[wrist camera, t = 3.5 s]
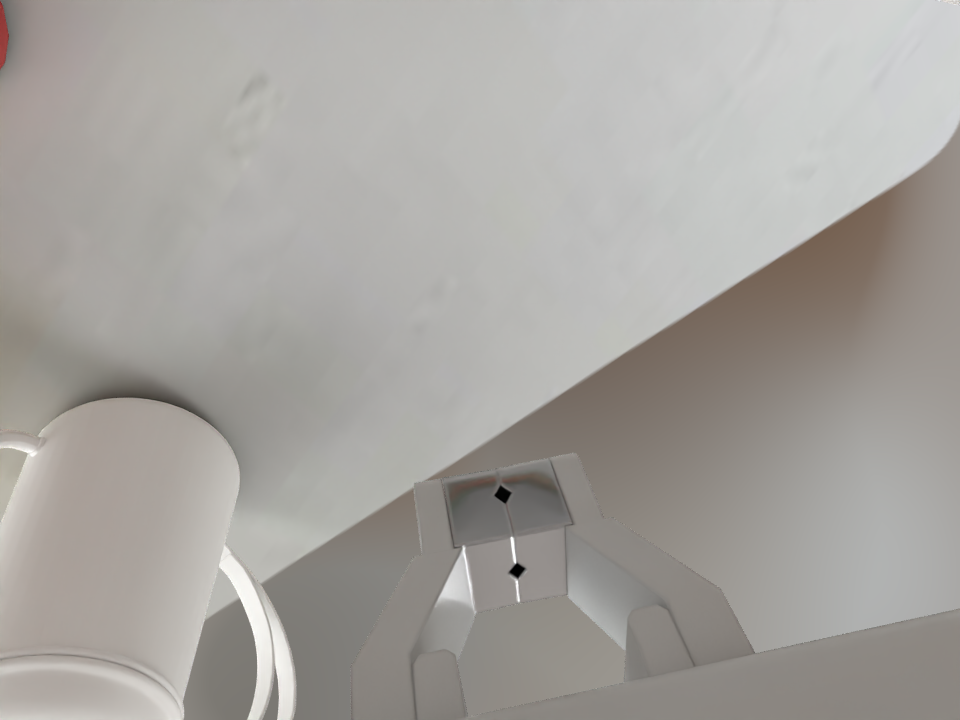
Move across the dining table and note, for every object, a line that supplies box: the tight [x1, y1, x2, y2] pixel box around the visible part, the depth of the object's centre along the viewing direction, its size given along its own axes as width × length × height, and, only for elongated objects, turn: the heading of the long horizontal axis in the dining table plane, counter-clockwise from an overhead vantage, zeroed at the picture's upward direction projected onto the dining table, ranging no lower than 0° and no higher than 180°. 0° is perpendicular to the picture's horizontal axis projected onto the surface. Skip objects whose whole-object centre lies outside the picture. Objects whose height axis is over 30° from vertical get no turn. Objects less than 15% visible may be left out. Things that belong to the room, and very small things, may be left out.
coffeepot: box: [0, 398, 297, 720], centre depth 32 cm, size 11×25×19 cm, turn 37°
